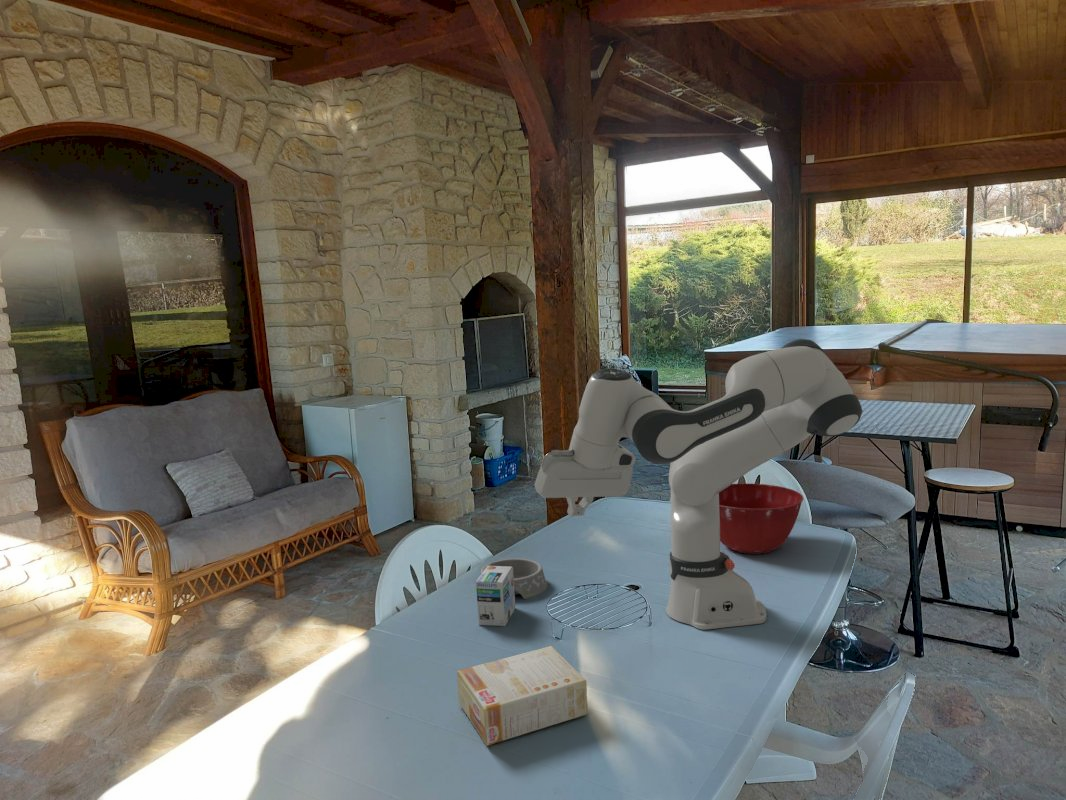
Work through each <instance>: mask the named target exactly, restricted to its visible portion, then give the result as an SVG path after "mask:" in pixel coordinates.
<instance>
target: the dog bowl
mask: <svg viewBox="0 0 1066 800" xmlns="http://www.w3.org/2000/svg"><path fill="white" fill-rule="evenodd" d="M487 566H509V567H513V577H514V595H520V596H521V597H522V599H524V600H528V599H531V598H534V597H536V596H538V595H540V594H542V593H544V591H546V589H547V588H548V583H547V580H546V578H545V573H544V570H543V567H542V565H541V564H540V563H539V562H537V561H535V560H532V559H528V558H517V557H516V558H504V559H499V560H495V561H492V562H489V563H487V564H485V565H484V566H483V567H481V569H480V573H479V576H480V575H481V574H482V573H483V571H484V570H485V568H486V567H487Z"/></svg>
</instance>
